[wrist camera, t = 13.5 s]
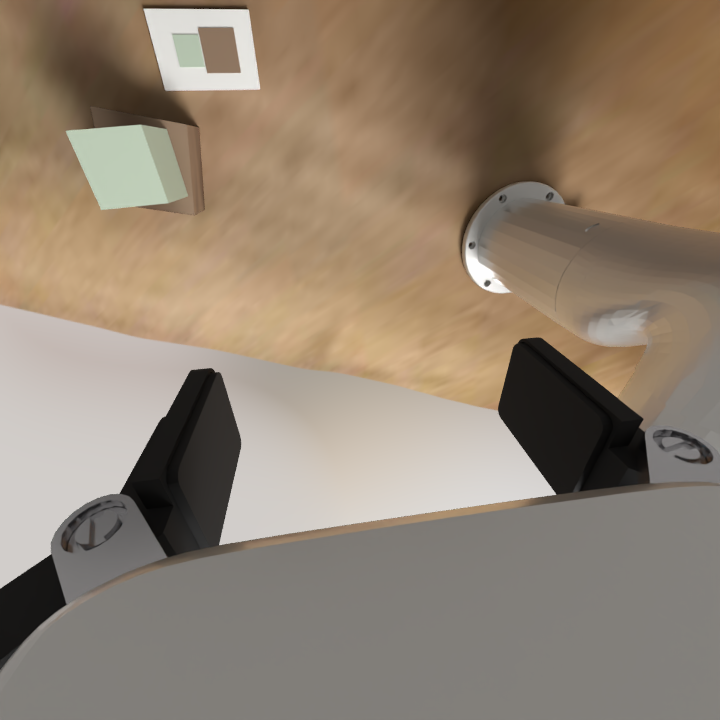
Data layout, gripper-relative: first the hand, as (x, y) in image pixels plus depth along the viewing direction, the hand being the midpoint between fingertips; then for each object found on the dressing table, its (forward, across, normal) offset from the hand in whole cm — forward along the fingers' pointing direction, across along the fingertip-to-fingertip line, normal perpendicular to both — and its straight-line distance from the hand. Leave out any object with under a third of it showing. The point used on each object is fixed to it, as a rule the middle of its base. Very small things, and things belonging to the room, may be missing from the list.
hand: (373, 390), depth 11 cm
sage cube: (+27, +15, -6) cm, 31 cm away
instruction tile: (+30, +9, -14) cm, 35 cm away
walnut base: (+31, +15, -6) cm, 35 cm away
